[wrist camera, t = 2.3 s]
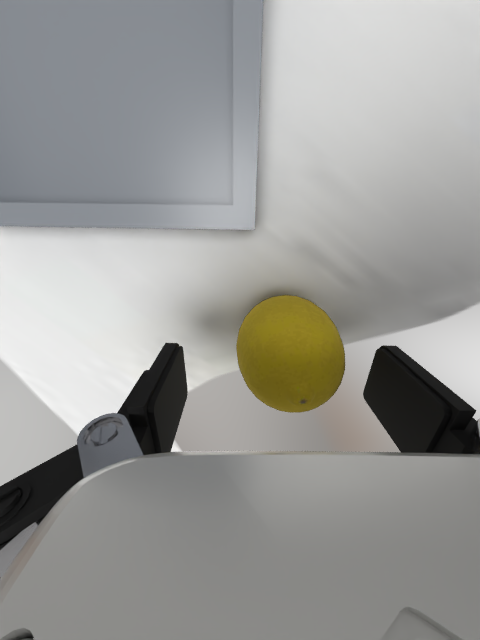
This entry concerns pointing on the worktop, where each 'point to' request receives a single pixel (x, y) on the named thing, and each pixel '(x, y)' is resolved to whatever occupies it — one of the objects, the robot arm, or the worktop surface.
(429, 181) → the worktop surface
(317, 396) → the lemon
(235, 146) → the tray
